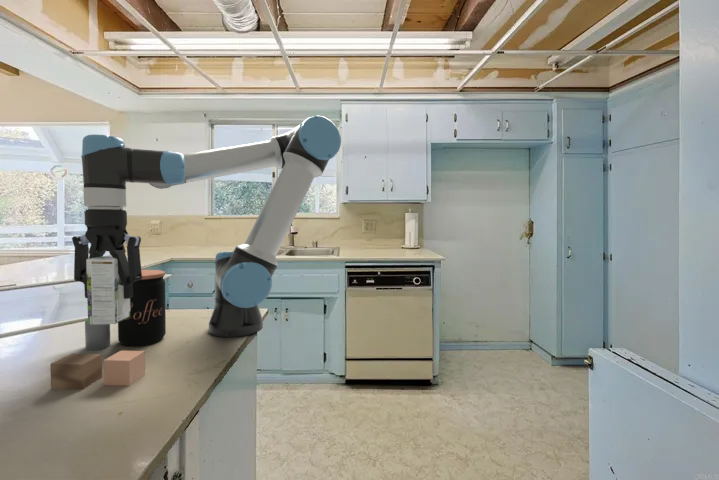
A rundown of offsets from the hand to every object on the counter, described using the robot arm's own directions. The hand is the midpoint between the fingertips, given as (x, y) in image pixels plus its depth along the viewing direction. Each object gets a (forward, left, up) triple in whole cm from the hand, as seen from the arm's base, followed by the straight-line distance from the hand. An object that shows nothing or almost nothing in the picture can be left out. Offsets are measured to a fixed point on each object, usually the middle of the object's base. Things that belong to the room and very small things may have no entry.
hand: (109, 312), depth 78 cm
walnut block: (-1, +10, -11) cm, 15 cm away
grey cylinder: (+9, -9, -11) cm, 17 cm away
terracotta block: (-9, +8, -11) cm, 16 cm away
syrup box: (0, 0, -2) cm, 2 cm away
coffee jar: (+1, -14, -11) cm, 18 cm away
